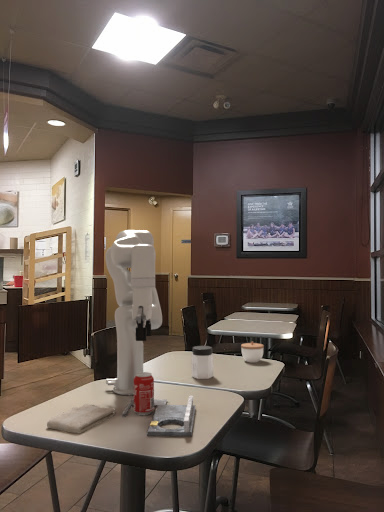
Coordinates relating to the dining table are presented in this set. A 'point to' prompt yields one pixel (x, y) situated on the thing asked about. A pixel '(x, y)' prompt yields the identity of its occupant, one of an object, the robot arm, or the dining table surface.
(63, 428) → the washcloth
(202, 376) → the jar
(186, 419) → the rack
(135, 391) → the beverage can
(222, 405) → the dining table surface
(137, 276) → the robot arm
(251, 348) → the lidded jar
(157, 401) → the grey flat l-shaped piece
